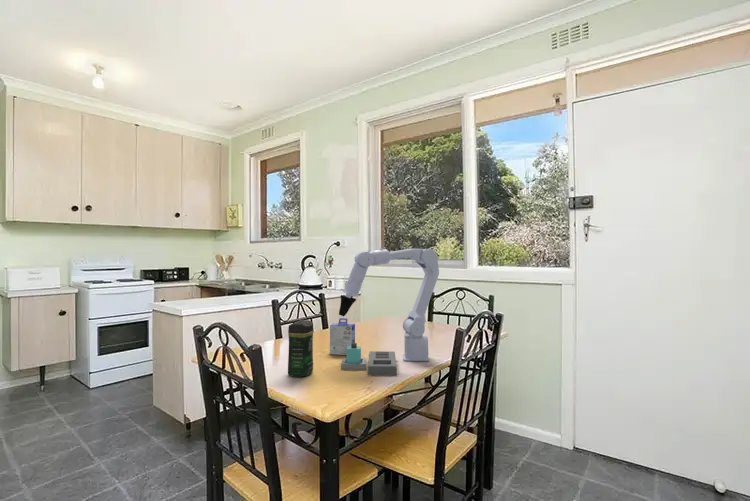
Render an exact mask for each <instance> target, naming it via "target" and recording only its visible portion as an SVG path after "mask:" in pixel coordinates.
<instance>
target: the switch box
mask: <svg viewBox="0 0 750 501" xmlns="http://www.w3.org/2000/svg"><path fill="white" fill-rule="evenodd" d="M396 358H397V357H396V351H384V350H383V351H376V350H375V351H373V350H372V351H369V352H368V361H367V375H368V376H397V373H398V372H397V368H398V366H397V359H396Z"/></svg>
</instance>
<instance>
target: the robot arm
mask: <svg viewBox="0 0 750 501" xmlns="http://www.w3.org/2000/svg"><path fill="white" fill-rule="evenodd" d="M438 256H439V255H437V253H436V252H435V250H434V249H431V248H406V249H400V250H395V251H389V250H388V249H386V248H385V249H384V248H383V247H379V249H376V250H371V249H368V250H367V251H360V252H358V253H357V254H356V256H354V264H353V266H352V269H351V270H350V273H349V275H348V279H347V280H346V284H345V287H344V288H340V291H341V292H343V293H345V294H341V295H340V305H339V306H340V307H339V310H338V315H339V316H341V317H345V316H346V315H347V314H348V312H349V311H350V309H351V307H352V306H353V304H354V303H355V302H356V301H357V298H358V297H359V293H360V291H361V288H362V285H363V282H364V280H365V278H366V275H367V271H368V269H369V267H371V266H378V265H387V264H389V263H390V261H392V260H399V259H400V260H401V259H410V260H412V261H413V260H414V261H415V262H416V263H417V265H419V266H420V267H421V269H422V270H423V272H424V276H423V279H422V281H421V285H420V288H419V290H418V293H417V295H416V299H415V301H414V304H413V307H412V310H411V311H410V312H408V315H407V317H406V319H404V321H402V328H403V331H404V334H403V335H404V339H403V340H404V341H403V342H404V344H403V345H404V346H403V347H404V354H402V356H403V361H405V362H412V361H413V362H414V361H415V362H416V361H417V362H418V361H419V362H428V361H429V339H428V338H429V337H428V336H427V335H425V336H424V333H425V327H426V326H425V324H426V315H425V314H426V312H427V309H428V306H429V304H430V300H431V297H432V295H433V293H434V289H435V287H436V284H437V281H438V278H439V275H440V268H439V261H438V260H439V257H438ZM354 297H356V298H354Z"/></svg>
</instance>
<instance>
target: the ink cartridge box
mask: <svg viewBox="0 0 750 501" xmlns="http://www.w3.org/2000/svg"><path fill="white" fill-rule="evenodd" d="M352 343H356V324H355V323H348V318H347V317H346V318H344V317H342V318H341V317H339V319H338V322H337V323H332V324H330V325H329V355H335V356H336V355H338V356H341V355H342V356H347V347H348V346H351V344H352Z"/></svg>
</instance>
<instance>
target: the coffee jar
mask: <svg viewBox="0 0 750 501" xmlns="http://www.w3.org/2000/svg"><path fill="white" fill-rule="evenodd" d="M287 329H288V330H287V332H288V333H287V335H288V355H287V356H288V359H287V360H288V361H287V374H288V376H290V377H293V378H300V377H307V376H309V375H310V374H311V373H312V372H313V371H314V355H313V354H314V353H313V352H314V351H313V350H314V349H313V348H314V347H313V346H314V344H313V343H314V340H313V339H314V323H313V322H312V321H311V320H309V319H299V320H298V321H295V322H293V323H291V324H289V325H288V328H287Z"/></svg>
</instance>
